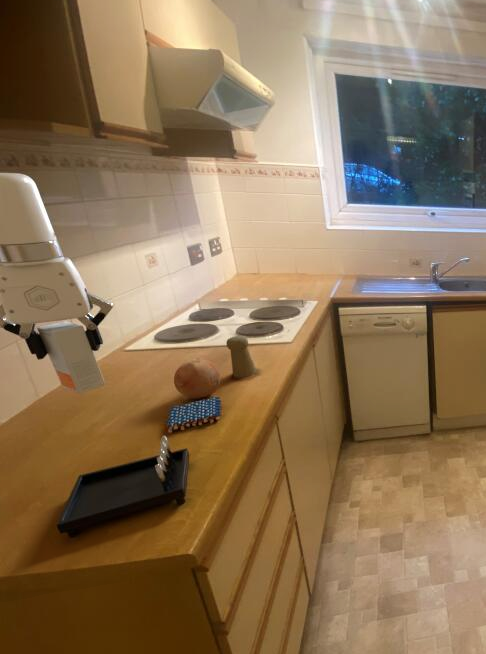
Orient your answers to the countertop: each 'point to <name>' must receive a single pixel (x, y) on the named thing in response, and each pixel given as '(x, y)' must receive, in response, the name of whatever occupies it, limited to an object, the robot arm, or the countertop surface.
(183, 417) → the woven mat
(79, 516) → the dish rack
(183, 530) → the countertop surface
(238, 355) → the pepper mill
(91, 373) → the cosmetic box
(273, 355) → the countertop surface
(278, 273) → the countertop surface
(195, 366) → the onion
